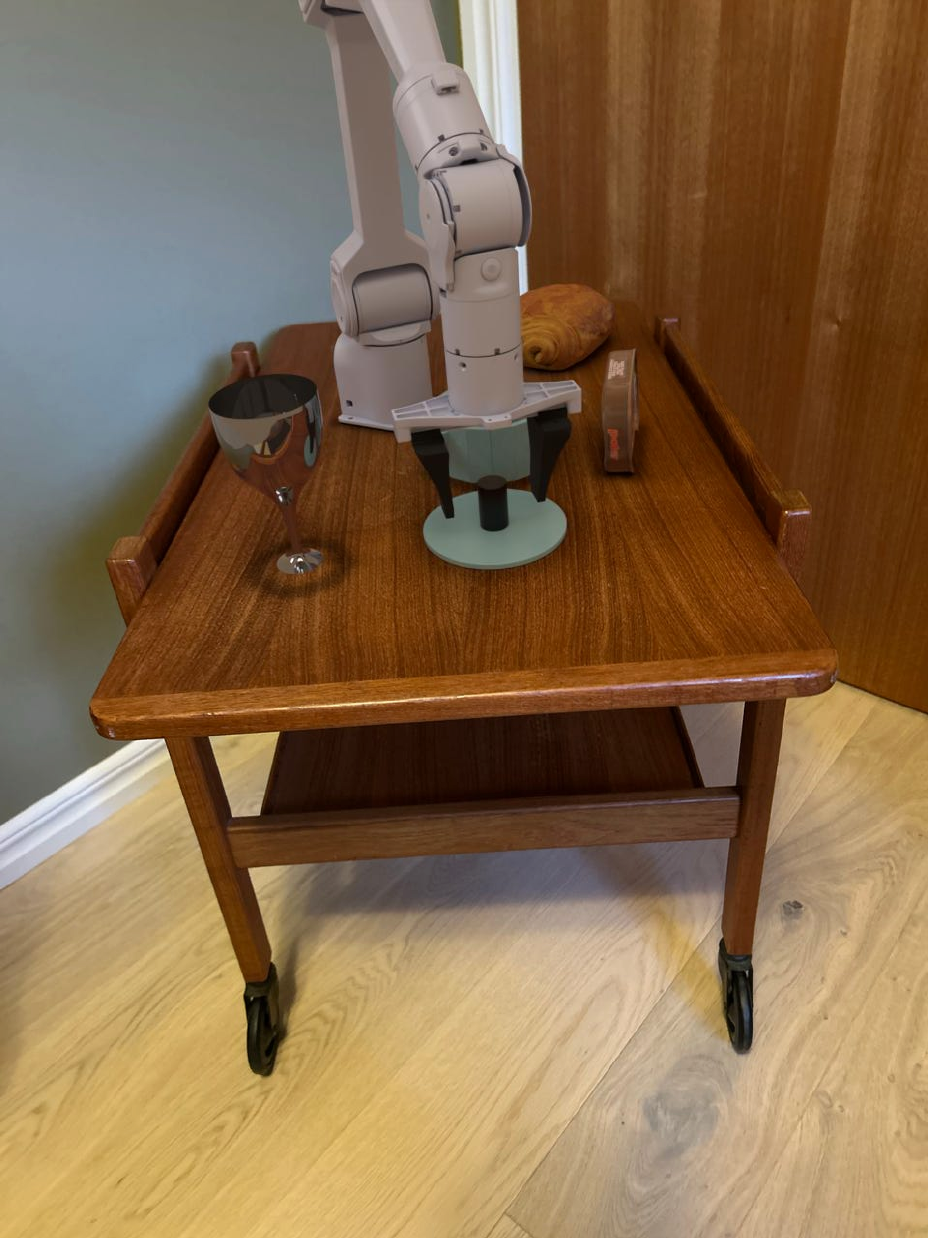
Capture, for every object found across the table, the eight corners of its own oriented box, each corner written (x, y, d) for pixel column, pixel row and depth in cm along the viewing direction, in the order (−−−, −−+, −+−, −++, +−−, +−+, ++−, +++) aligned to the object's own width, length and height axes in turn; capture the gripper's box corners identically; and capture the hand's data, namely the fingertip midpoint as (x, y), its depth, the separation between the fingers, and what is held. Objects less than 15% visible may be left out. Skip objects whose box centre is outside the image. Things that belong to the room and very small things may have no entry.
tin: (633, 489, 81) (636, 401, 76) (597, 488, 82) (598, 400, 76) (640, 416, 93) (643, 334, 87) (608, 415, 93) (610, 334, 88)
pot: (393, 466, 88) (385, 409, 84) (529, 417, 94) (527, 362, 91) (452, 510, 80) (446, 450, 77) (595, 454, 87) (596, 396, 83)
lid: (398, 530, 79) (391, 477, 75) (512, 485, 83) (510, 434, 80) (474, 594, 70) (469, 538, 67) (596, 540, 75) (597, 486, 72)
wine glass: (307, 604, 71) (268, 427, 62) (232, 579, 74) (184, 408, 65) (367, 553, 76) (339, 382, 67) (295, 532, 80) (258, 367, 70)
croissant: (630, 351, 112) (638, 283, 107) (574, 381, 100) (580, 307, 96) (527, 333, 118) (530, 268, 114) (463, 360, 107) (464, 289, 103)
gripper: (393, 378, 63) (415, 545, 71) (595, 346, 64) (593, 512, 73) (379, 343, 68) (400, 501, 76) (565, 315, 70) (566, 472, 78)
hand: (493, 504), depth 75 cm, fingers open, 7 cm apart
